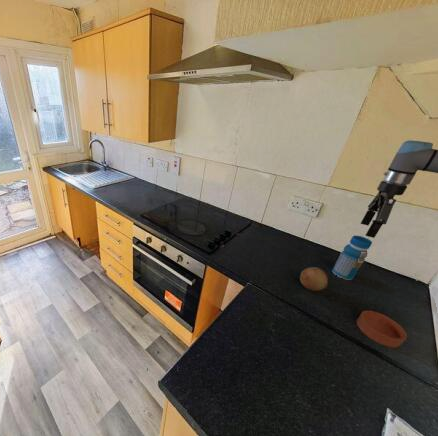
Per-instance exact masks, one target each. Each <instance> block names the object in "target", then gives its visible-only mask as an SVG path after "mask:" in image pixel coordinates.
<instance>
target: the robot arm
mask: <svg viewBox="0 0 438 436" xmlns="http://www.w3.org/2000/svg"><path fill="white" fill-rule="evenodd" d="M433 146H434V143H433V142H429V141H420V140H411V139H410V140H405V141H404V142H402V144H401V145H400V147H399V148H398V150H397V152H396V153H395V155H394V157H393V159H392V161H391V163H390V164H389V167H388V168H387V170H386V171H384V172H383V177H382V180H381V181H380V183H379V184H378V186H377V187H376V190H377V191H378V192H377V194H376V195H375V196H374V198H373V199H372V200H371V202H370V203H369V204H368V205H367V210H366V212H365V214H364V216H363V218H362V220H361V221H360V225H364V226H369V228H368V230H367V232H366V233H365V236H366V237H369V238H372V239H375V237H376V236H377V235H378V233H379V231H380V230H381V228H382V226H383V225H386V224H387V223H388V220H389V217H390V215H391V212H392V211H393V208H394V205H396V204H395V203H396V202H397V199H395V196H403V195H404V194H405V192H406V190H407V188H408V185H410V184H411V183H412V181H413V180H414V178H415V176H416V174H417V172H418V171H422V172H428V173H435V174H438V149H436V148H433ZM374 217H375V219H374Z"/></svg>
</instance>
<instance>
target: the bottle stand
mask: <svg viewBox="0 0 438 436" xmlns="http://www.w3.org/2000/svg"><path fill="white" fill-rule="evenodd" d="M356 325H357V328H359V330H360V331H361V332H362V333H363V335H365V336H366V337H368V338H370V339H371V340H372V341H374V342H376V343H378V344H380V345H382V346H385V347H389V348H399V347H401V345H403V344H404V343H405V341H406V340H407V339H408V334H407V331H406V330H405V329H404V328H403V327H402V326H401V325H400V323H398V322H397V321H396V320H394V319H392V318H391V317H388V316H387V315H385V314H383V313H380V312H377V311H373V310H363V311H362V312H361V313H360V314H359V316H358V317H357V319H356Z"/></svg>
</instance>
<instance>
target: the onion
mask: <svg viewBox="0 0 438 436" xmlns="http://www.w3.org/2000/svg"><path fill="white" fill-rule="evenodd" d="M299 275H300V276H299V281H300V283H301V284H302V286H303V287H304V288H305V289H307V290H309V291H311V292H319V291H322V290H324V289H325V288H327V286H328V284H329V283H328V282H329V278H328V275H327V273H326V272H325V271H324V270H323V269H321V268H319V267H314V266H312V267H311V266H310V267H306V268H305V269H303V270H302V271H301V273H300V274H299Z"/></svg>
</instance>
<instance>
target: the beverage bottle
mask: <svg viewBox="0 0 438 436" xmlns="http://www.w3.org/2000/svg"><path fill="white" fill-rule="evenodd" d="M372 244H373V242H372V240H370V239H369V238H367V237H364V236H361V235H352V236H351V238H350V240H349V244H346V245H345V246H343V250H341V252H340V255H339V256H338V259H337V260H336V262H335V264H334V266H333V267H332V269H331V271H332V273H333V274H334V276H336V275H337V276H336V277H338V278H340V279H342V278H343V280H347V281H351V280H353V279H354V278H355V276H356V274H357V273H358V271H359V270H360V268H361V266H362V265H363V263H365V261H366V260H365V259H366V258H367V257H368V250H370V247H371V246H372Z"/></svg>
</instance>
